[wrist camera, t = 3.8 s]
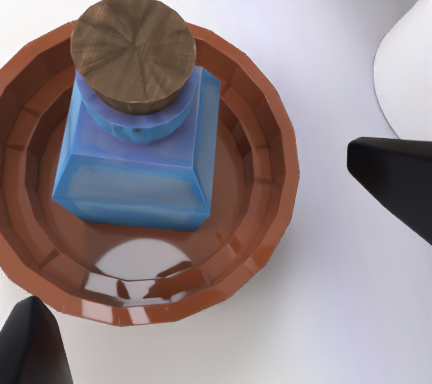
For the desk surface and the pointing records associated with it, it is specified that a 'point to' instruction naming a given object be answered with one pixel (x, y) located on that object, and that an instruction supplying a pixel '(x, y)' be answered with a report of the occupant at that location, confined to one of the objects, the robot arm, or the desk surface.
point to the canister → (407, 74)
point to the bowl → (138, 236)
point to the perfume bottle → (138, 120)
